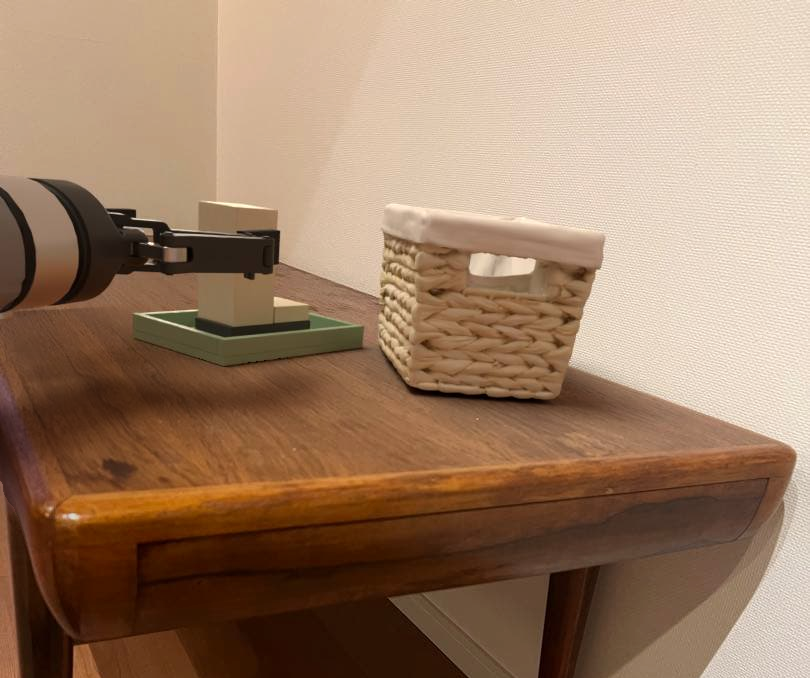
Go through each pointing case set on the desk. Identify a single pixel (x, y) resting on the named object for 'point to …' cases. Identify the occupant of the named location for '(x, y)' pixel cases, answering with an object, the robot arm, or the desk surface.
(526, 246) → the basket
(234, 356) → the tray
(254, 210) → the boot
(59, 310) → the desk surface
